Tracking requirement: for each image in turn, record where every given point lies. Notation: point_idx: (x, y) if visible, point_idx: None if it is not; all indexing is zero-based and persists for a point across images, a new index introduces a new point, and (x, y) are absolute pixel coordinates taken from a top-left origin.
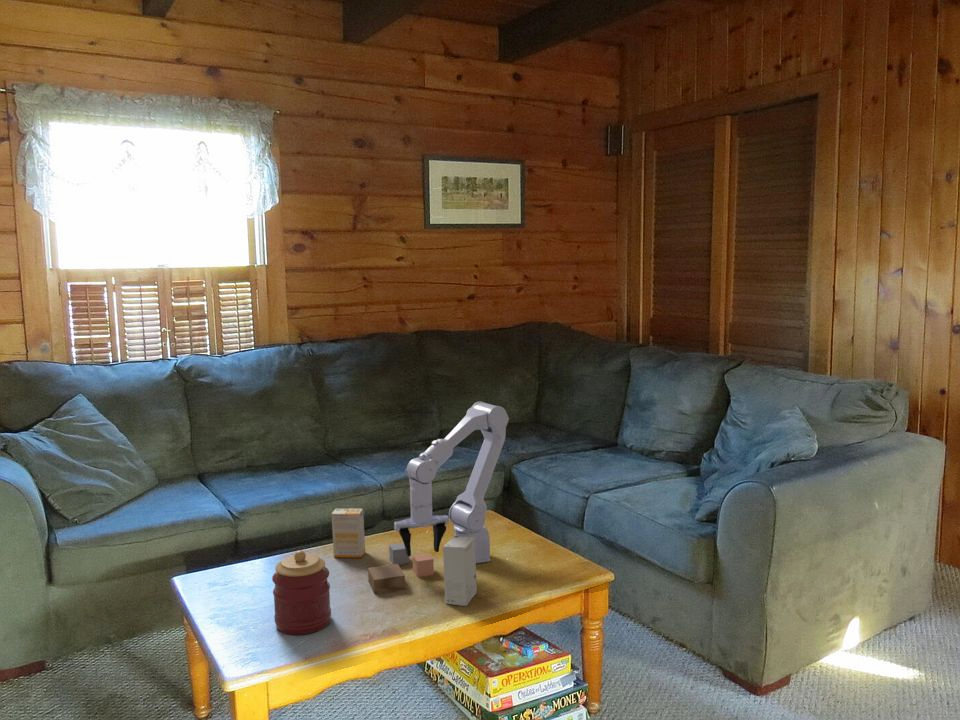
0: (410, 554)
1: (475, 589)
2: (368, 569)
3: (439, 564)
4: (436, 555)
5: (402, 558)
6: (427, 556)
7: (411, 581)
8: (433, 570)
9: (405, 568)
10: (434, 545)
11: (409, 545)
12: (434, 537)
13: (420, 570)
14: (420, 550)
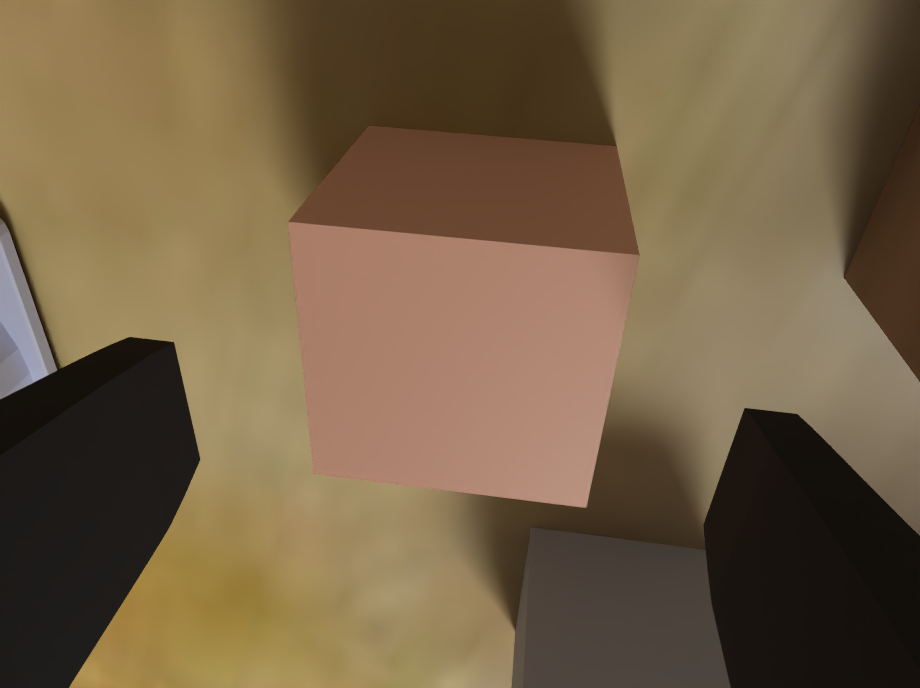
0: (766, 425)
1: None
2: None
3: (233, 371)
4: (227, 547)
5: (608, 592)
6: (366, 369)
7: (771, 41)
8: (354, 146)
9: (627, 447)
10: (142, 503)
11: (915, 620)
12: (30, 683)
13: (567, 175)
14: (343, 667)
